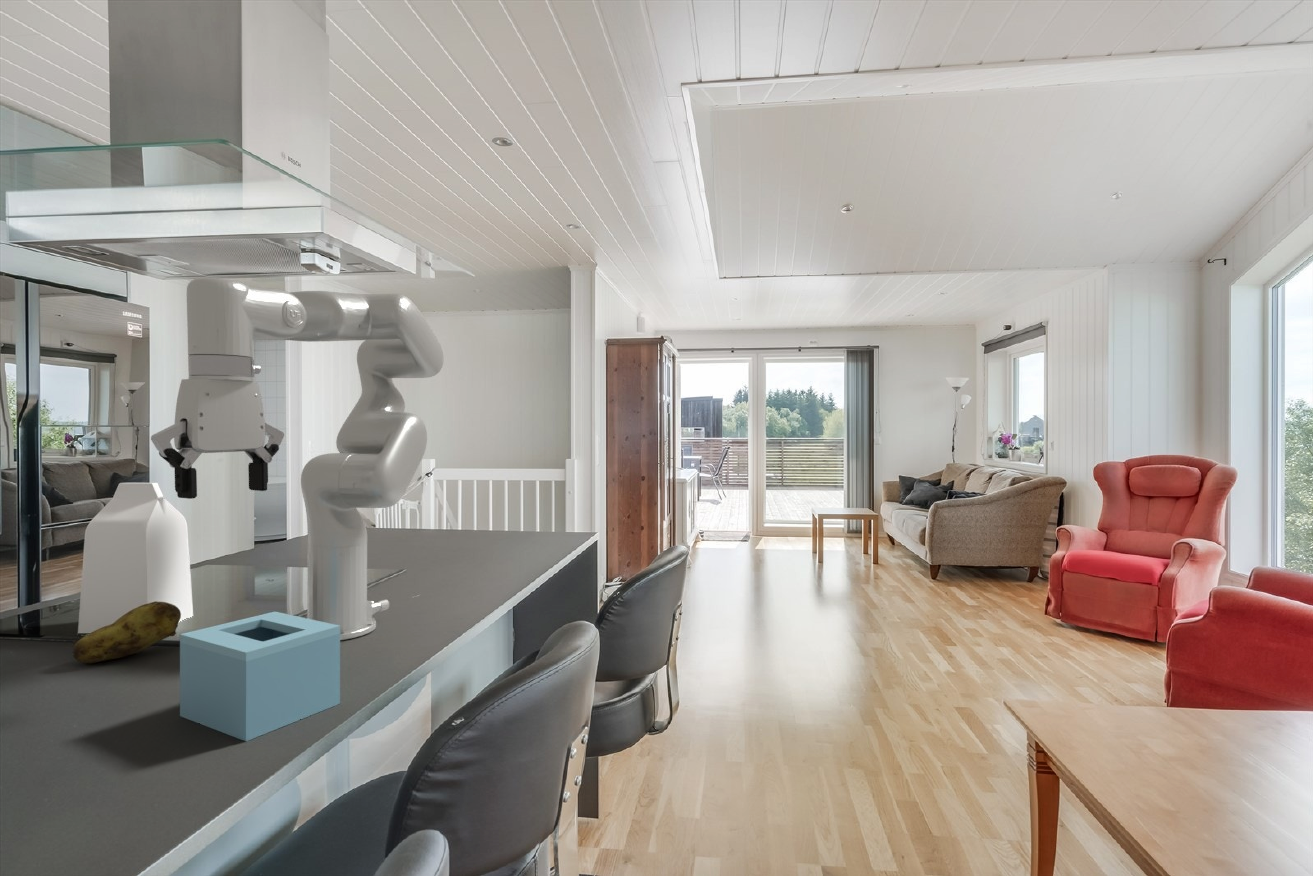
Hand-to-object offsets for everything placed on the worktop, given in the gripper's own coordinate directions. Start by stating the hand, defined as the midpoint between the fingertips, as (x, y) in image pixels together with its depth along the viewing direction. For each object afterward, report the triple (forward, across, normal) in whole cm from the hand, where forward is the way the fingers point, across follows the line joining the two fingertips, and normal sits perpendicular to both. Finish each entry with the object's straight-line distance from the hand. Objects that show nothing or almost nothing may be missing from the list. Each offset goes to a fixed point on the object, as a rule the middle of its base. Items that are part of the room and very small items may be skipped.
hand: (224, 493), depth 91 cm
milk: (+28, -10, -43) cm, 52 cm away
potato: (+27, 0, -25) cm, 37 cm away
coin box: (+27, +4, +12) cm, 30 cm away
